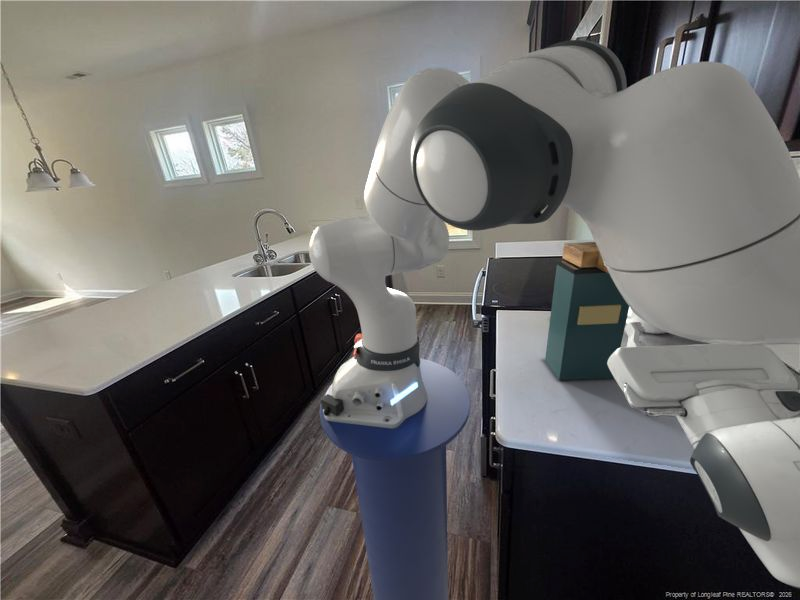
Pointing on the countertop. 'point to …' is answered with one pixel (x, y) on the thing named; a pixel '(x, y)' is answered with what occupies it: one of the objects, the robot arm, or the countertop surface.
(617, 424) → the countertop surface
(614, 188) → the robot arm
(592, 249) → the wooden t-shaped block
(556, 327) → the teal box with label
